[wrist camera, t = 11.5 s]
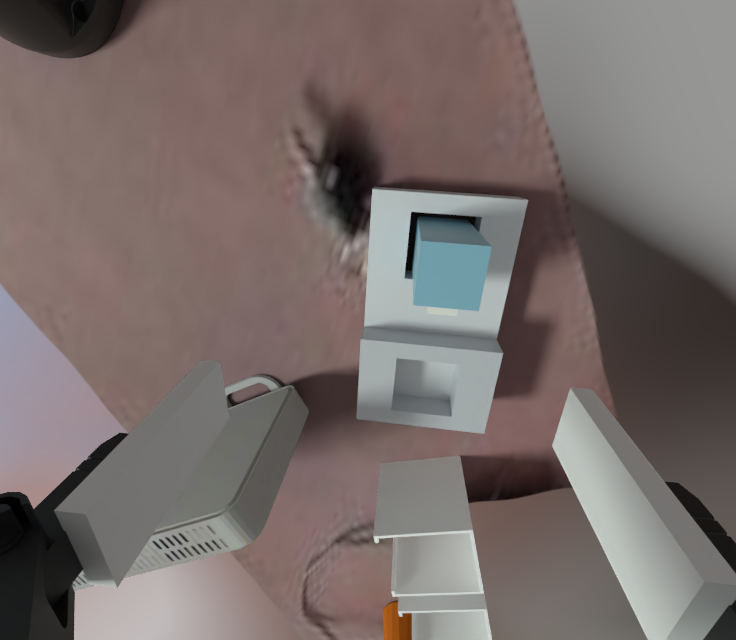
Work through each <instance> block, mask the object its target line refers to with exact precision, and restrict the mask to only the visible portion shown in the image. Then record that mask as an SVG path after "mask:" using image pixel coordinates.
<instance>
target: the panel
mask: <svg viewBox="0 0 736 640" xmlns="http://www.w3.org/2000/svg"><path fill="white" fill-rule="evenodd" d="M527 204H528V200H527V199H524V198H521V197H516V196H502V195H487V194H473V193H459V192H444V191H430V190H416V189H402V188H387V187H374V188H373V189H372V204H371V221H370V238H369V255H368V271H367V288H366V305H365V322H364V329H363V333H362V337H361V346H360V364H359V381H358V399H357V417H356V419H360V420H369V421H377V422H386V423H395V424H404V425H412V426H421V427H430V428H439V429H447V430H456V431H465V432H474V433H483V434H484V432H485V428H486V424H487V420H488V415H489V411H490V407H491V403H492V399H493V394H494V390H495V386H496V382H497V378H498V374H499V369H500V365H501V361H502V357H503V352H502V349H501V347H500V345H499V343H498V341H497V336H498V332H499V327H500V323H501V318H502V314H503V309H504V305H505V301H506V296H507V292H508V287H509V283H510V279H511V274H512V270H513V265H514V261H515V257H516V252H517V248H518V243H519V239H520V234H521V230H522V226H523V221H524V217H525V212H526V208H527ZM411 212H421V213H435V214H448V215H462V216H475V217H476V219H475V225H474V227H475V228H476V230H477V231H478V232H479V233H480V234H481V235H482V236H483V237H484V238H485V239H486V241H487V242H488V243H489V244H490V245H491V246H492V248H491V253H490V258H489V263H488V268H487V273H486V278H485V283H484V288H483V293H482V298H481V303H480V308H479V311H470V310H459V309H458V313H457V316H449V315H438V314H427V306H416V305H413V273H412V271H409V270H405V267H406V258H407V248H408V238H409V229H410V219H411Z"/></svg>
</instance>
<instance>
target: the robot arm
mask: <svg viewBox="0 0 736 640" xmlns="http://www.w3.org/2000/svg"><path fill="white" fill-rule="evenodd" d="M122 4H123V0H0V36H1V37H3V38H4V39H6V40H8V41H10V42H12V43H14V44H16V45H18V46H20V47H22V48H25V49H28V50H31V51H35V52H38V53H42V54H45V55H49V56H53V57H58V58H75V57H80V56H83V55H86V54H88V53H90V52H92V51H94V50H95V49H97V48H98V47H99V46H101V45H102V44H103V43H104V42H105V41H106V39H107V38H108V37H109V35H110V34H111V32H112V31H113V29H114V27H115V25H116V23H117V21H118V18H119V15H120V12H121V8H122ZM228 419H229V412H228V406H227V400H226V394H225V388H224V382H223V376H222V370H221V364H220V362H219V361H206V360H201V361H200V362H199V363H198V364H197V365H196V366H195V367H194V368H193V369H192V370H191V371H190V372H189V373H188V374H187V375H186V376H185V377H184V378H183V379H182V380H181V381H180V382H179V383H178V384H177V385H176V386H175V387H174V388H173V389H172V390H171V391H170V393H169V394H168V395H167V396H166V397H165V398H164V399H163V400H162V401H161V402H160V403H159V404H158V405H157V406H156V407H155V408H154V409H153V410H152V411H151V412H150V413H149V414H148V415H147V416H146V417H145V418H144V419H143V420H142V421H141V422H140V423H139V424H138V425H137V426H136V427H135V428H134V429H133V430H132V431H131V432H130V433H129V434H127V433H119V434H117V435H116V436H114V437H112V438H111V439H109V440H107V441H106V442H104V443H103V444H101V445H100V446H99V447H98V448H97V449H96V450H95V451H94V452H93V453H92V454H91V455H90V456H89V457H88V459H87V460H84V461H83V462H82V463H81V464H80V465H79V466H78V467H77V468H76V471H75V472H72V473H71V474H70V475H69V476H68V477H67V478H66V479H65V480H64V481H63V482H62V483H61V484H60V485H59V486H57V487H56V488H55V490H53V491H52V492H51V493H50V494H49V495H48V496H47V497H46V498H45V499H44V500H43V501H42V502H41V503H40V504H39V505H38V506H37V507H36V508H35V509H33V507H32V505H31V503H30V501H29V499H28V498H27V496H26V495H24V494H22V493H20V492H7V493H3V494H0V640H74V599H75V598H74V597H75V595H74V594H75V592H74V589H73V586H72V583H73V582H74V581H75V579H76V578H77V577H78V575H79V574H80V573H81V571H82V570H83V572H84V574H85V576H86V579H87V581H88V583H89V584H91V585H99V586H107V587H115V588H117V587H118V586H119V584H120V583H121V581H122V580H123V578H124V577H125V575H126V574H127V572H128V571H129V569H130V568H131V566H132V565H133V563H134V562H135V560H136V559H137V557H138V556H139V554H140V553H141V551H142V550H143V548H144V547H145V545H146V544H147V542H148V541H149V539H150V537H151V536H152V534H153V533H154V531H155V530H156V528H157V527H158V525H159V524H160V522H161V521H162V519H163V518H164V516H165V515H166V513H167V512H168V510H169V509H170V507H171V506H172V504H173V503H174V501H175V500H176V498H177V497H178V495H179V494H180V492H181V491H182V489H183V488H184V486H185V485H186V483H187V481H188V480H189V478H190V477H191V475H192V474H193V472H194V471H195V469H196V468H197V466H198V465H199V463H200V462H201V460H202V459H203V457H204V456H205V454H206V453H207V451H208V450H209V448H210V447H211V445H212V444H213V442H214V441H215V439H216V438H217V436H218V435H219V433H220V432H221V430H222V429H223V427H224V426H225V424H226V422H227V421H228ZM552 446H553V448H554V451H555V453H556V455H557V457H558V459H559V461H560V463H561V465H562V467H563V469H564V471H565V473H566V475H567V477H568V479H569V481H570V483H571V485H572V487H573V489H574V491H575V493H576V495H577V497H578V499H579V501H580V503H581V505H582V507H583V509H584V511H585V513H586V515H587V517H588V519H589V521H590V523H591V525H592V527H593V529H594V531H595V533H596V535H597V537H598V539H599V541H600V543H601V546H602V548H603V550H604V552H605V554H606V556H607V558H608V559H609V562H610V564H611V566H612V568H613V570H614V572H615V574H616V576H617V578H618V580H619V582H620V584H621V586H622V588H623V590H624V592H625V594H626V596H627V598H628V600H629V602H630V604H631V606H632V608H633V610H634V612H635V614H636V616H637V618H638V620H639V622H640V624H641V626H642V628H643V630H644V633H645V634H646V637H647V639H648V640H736V543H735V542H734V541H733V540H732V538H731V537H729V536H727V532H725V530H724V529H723V528H722V526H721V525H720V524H719V523H718V522H717V521H715V520H714V517H713V516H712V514H710V512H709V511H708V510H707V508H706V507H705V506H704V505H703V504H702V503H701V501H700V500H699V499H698V498H696V497H695V496H694V495H693V494H691V493H690V492H689V491H688V490H686V489H685V488H684V487H683V486H681V485H680V484H679V483H674V482H664V481H663V480H662V478H661V477H660V476H659V474H658V473H657V472H656V471H655V469H654V468H653V467H652V465H651V464H650V463H649V462H648V460H647V459H646V458H645V456H644V455H643V454H642V453H641V451H640V450H639V449H638V447H637V446H636V445H635V444H634V442H633V441H632V440H631V439H630V437H629V436H628V435H627V433H626V432H625V431H624V429H623V428H622V427H621V426H620V424H619V423H618V422H617V420H616V419H615V418H614V417H613V415H612V414H611V413H610V411H609V410H608V409H607V408H606V406H605V405H604V404H603V403H602V401H601V400H600V399H599V397H598V396H597V395H596V394H595V392H594V391H593V390H592V389H580V388H570V390H569V394H568V397H567V400H566V403H565V407H564V410H563V413H562V416H561V419H560V423H559V426H558V429H557V432H556V436H555V439H554V442H553V445H552Z"/></svg>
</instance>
